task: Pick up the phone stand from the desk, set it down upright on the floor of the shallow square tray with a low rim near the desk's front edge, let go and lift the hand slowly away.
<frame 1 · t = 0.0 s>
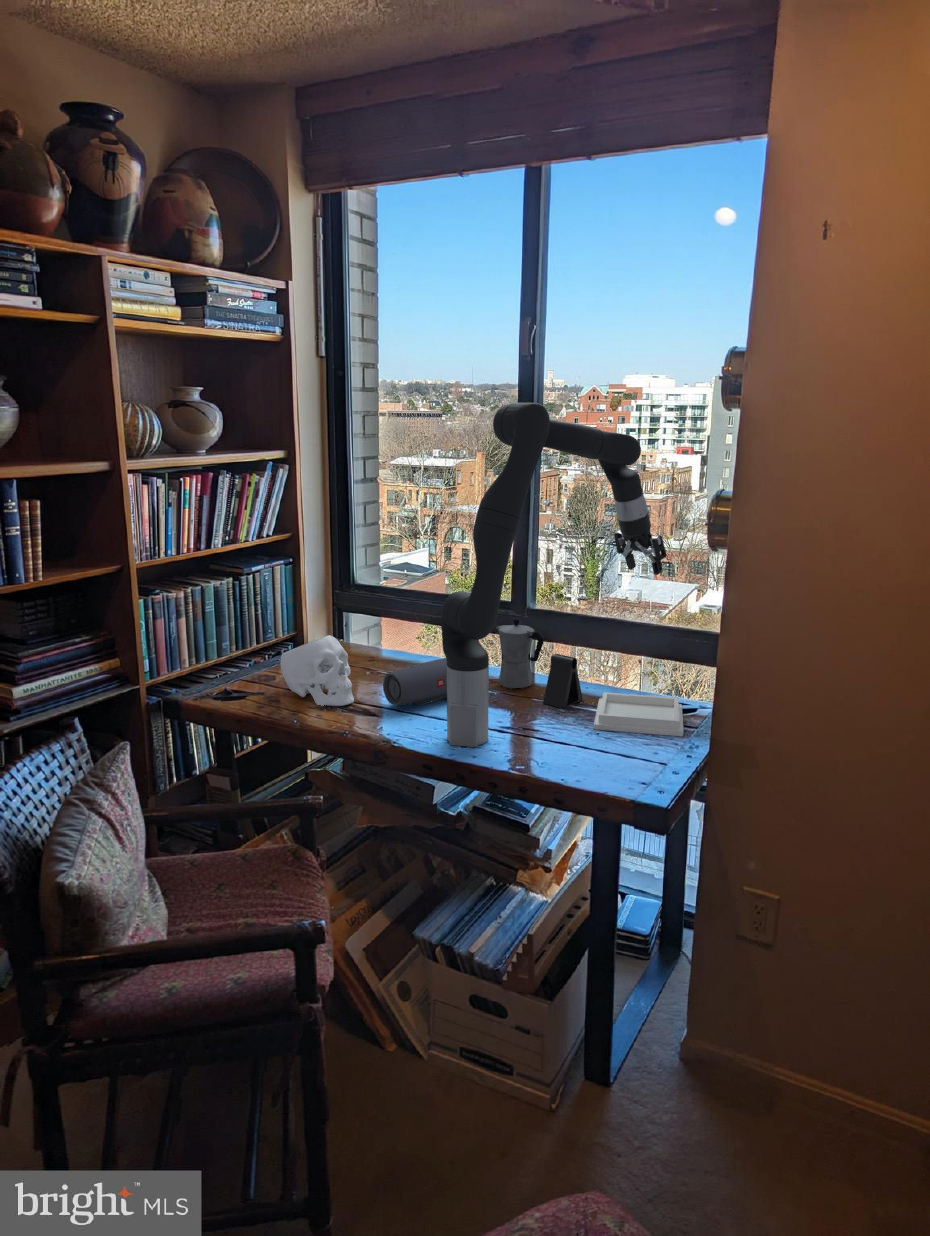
hand: (645, 570, 214), 31 cm above the table, tool tilted 20°, fingers open, 8 cm apart
shallow square tray: (638, 718, 200), on the table
skull planter: (320, 697, 215), on the table
bluetooth speaker: (429, 700, 213), on the table
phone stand: (562, 702, 212), on the table
coffeepot: (518, 685, 225), on the table
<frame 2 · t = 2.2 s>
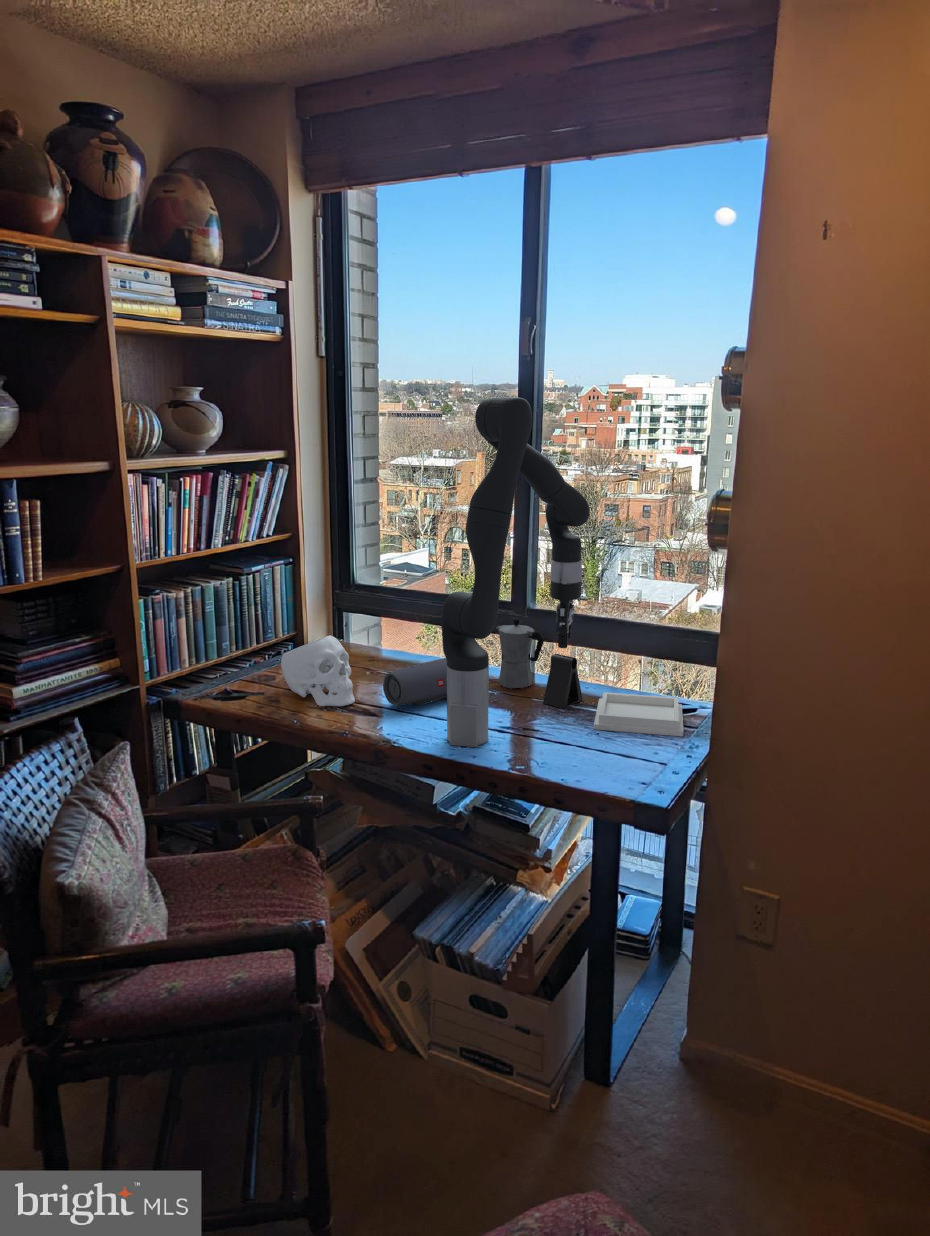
hand: (564, 642, 208), 15 cm above the table, tool pointing down, fingers open, 8 cm apart
nothing on the table moved.
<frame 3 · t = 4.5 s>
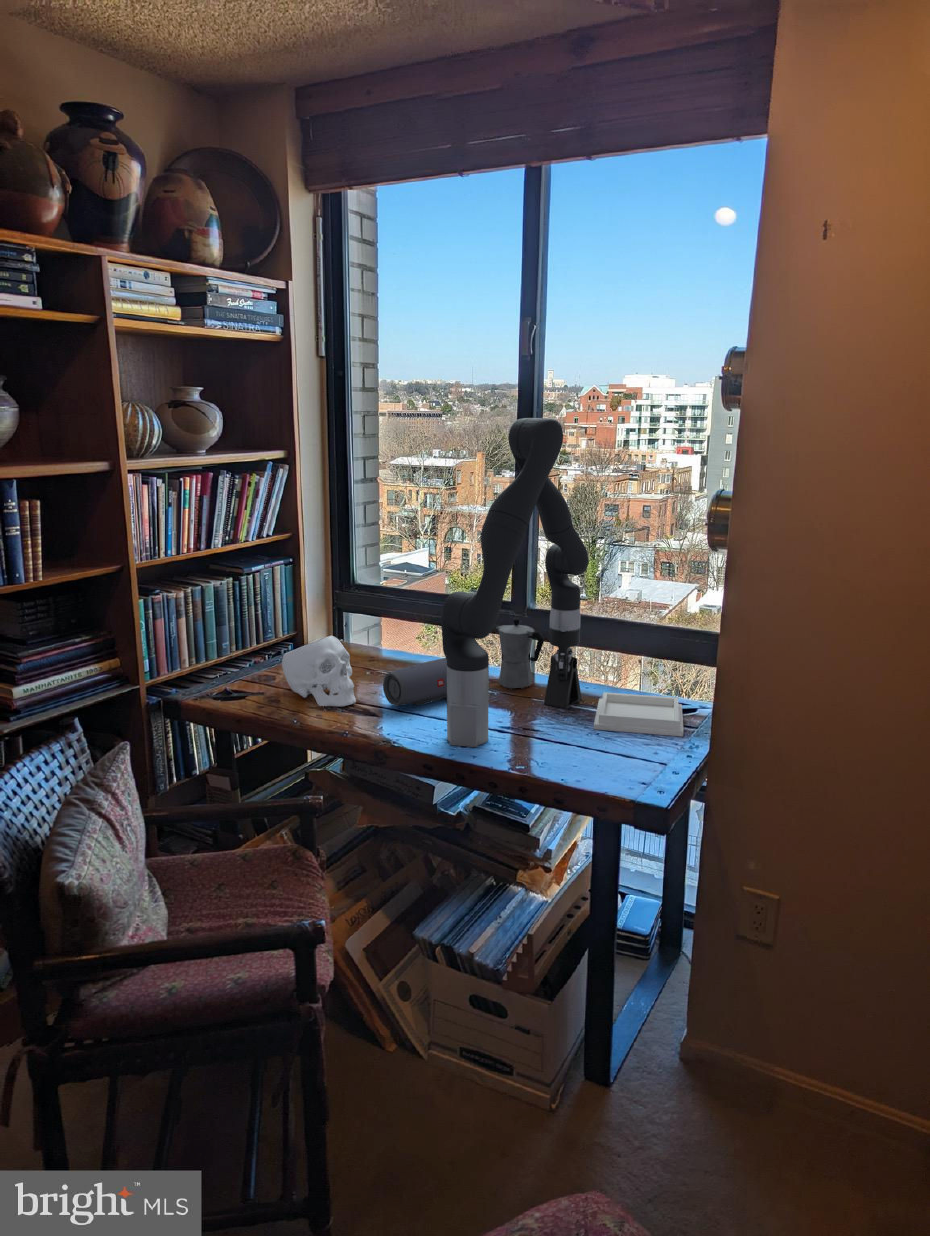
hand: (563, 691, 211), 3 cm above the table, tool pointing down, fingers closed on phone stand, 2 cm apart
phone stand: (562, 702, 212), on the table, touching gripper
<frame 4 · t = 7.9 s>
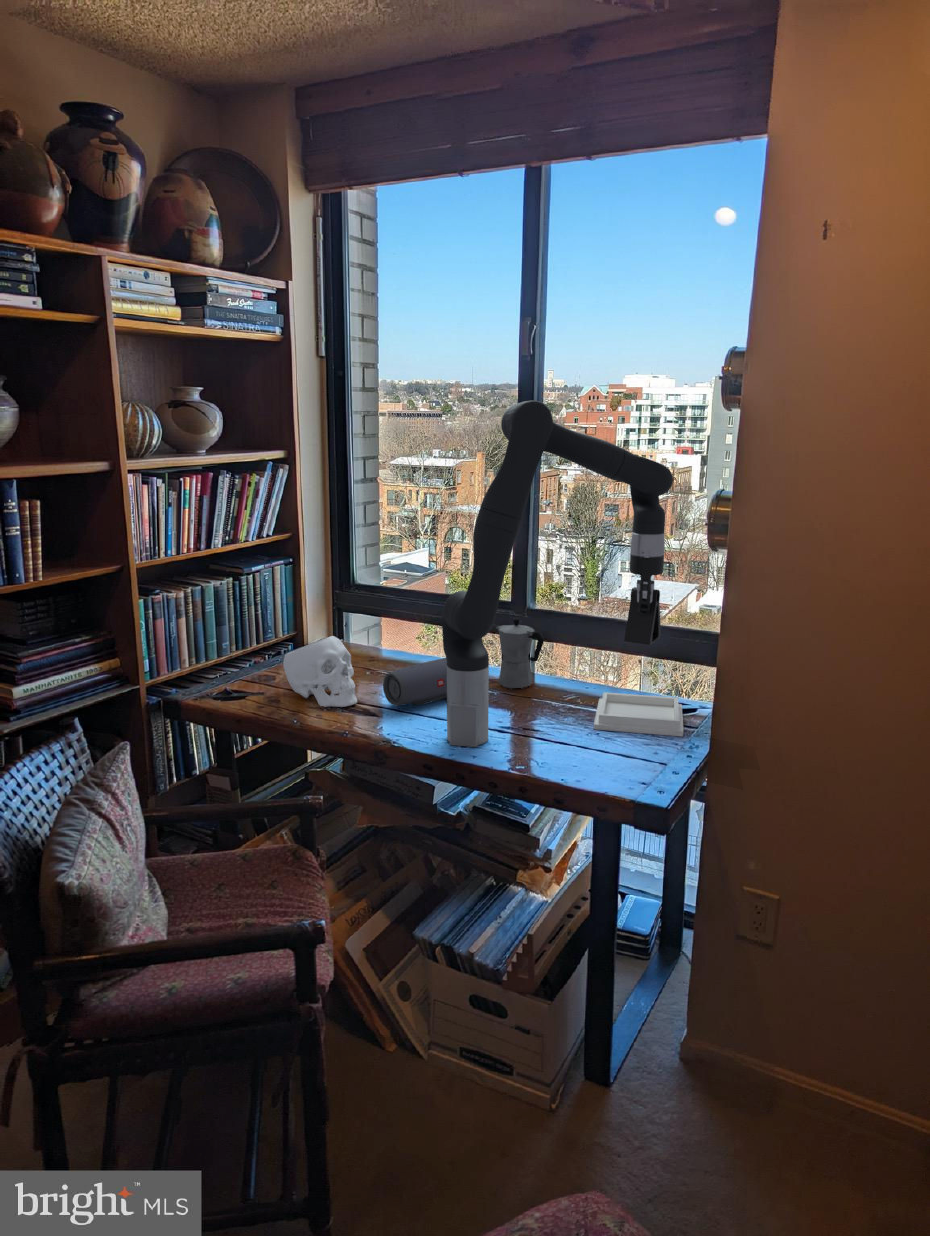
hand: (643, 626, 194), 23 cm above the table, tool pointing down, fingers closed on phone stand, 2 cm apart
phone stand: (642, 640, 195), point 19 cm above the table, touching gripper
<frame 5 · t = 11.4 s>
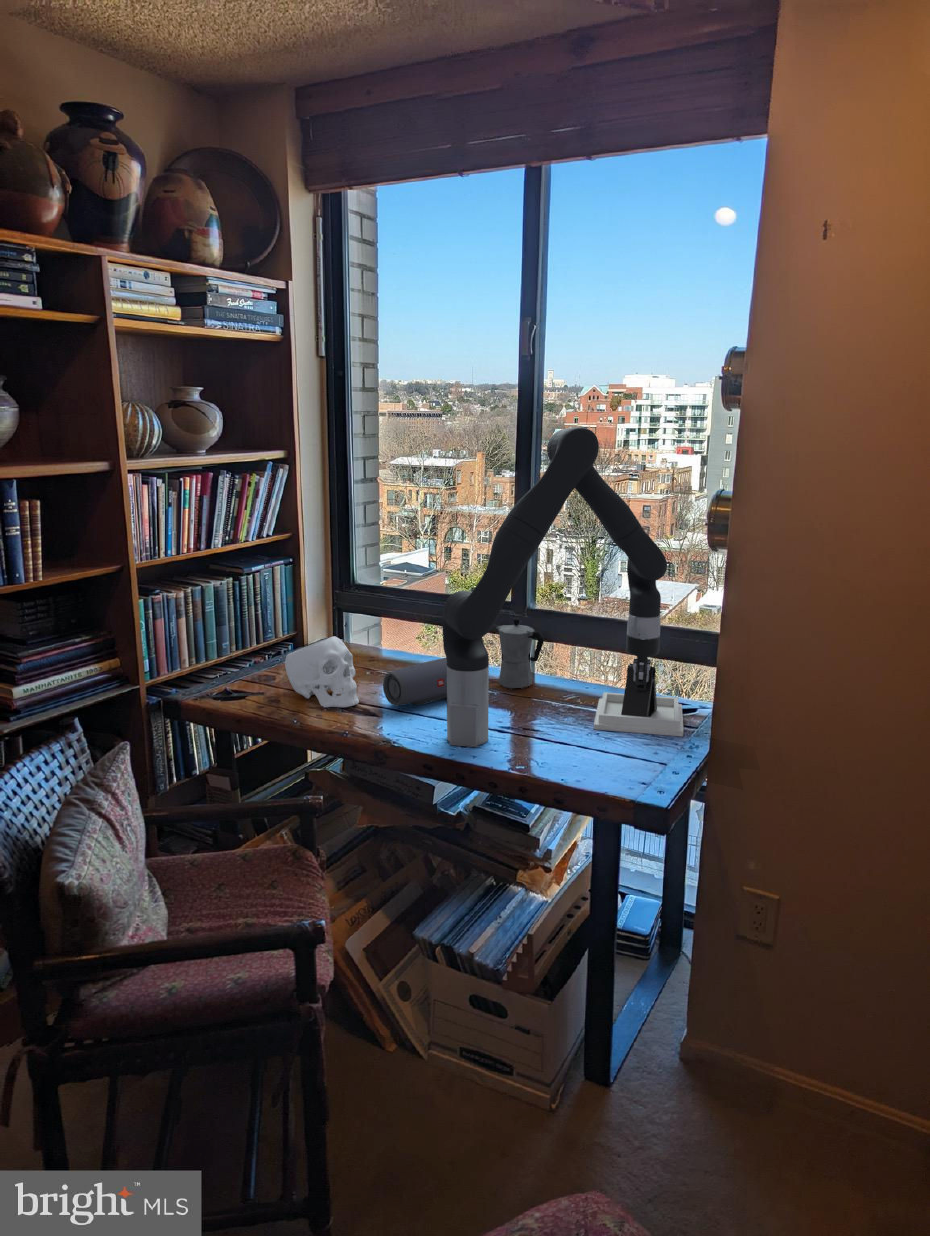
hand: (639, 703, 199), 4 cm above the table, tool pointing down
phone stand: (639, 714, 200), point 1 cm above the table, touching shallow square tray, gripper
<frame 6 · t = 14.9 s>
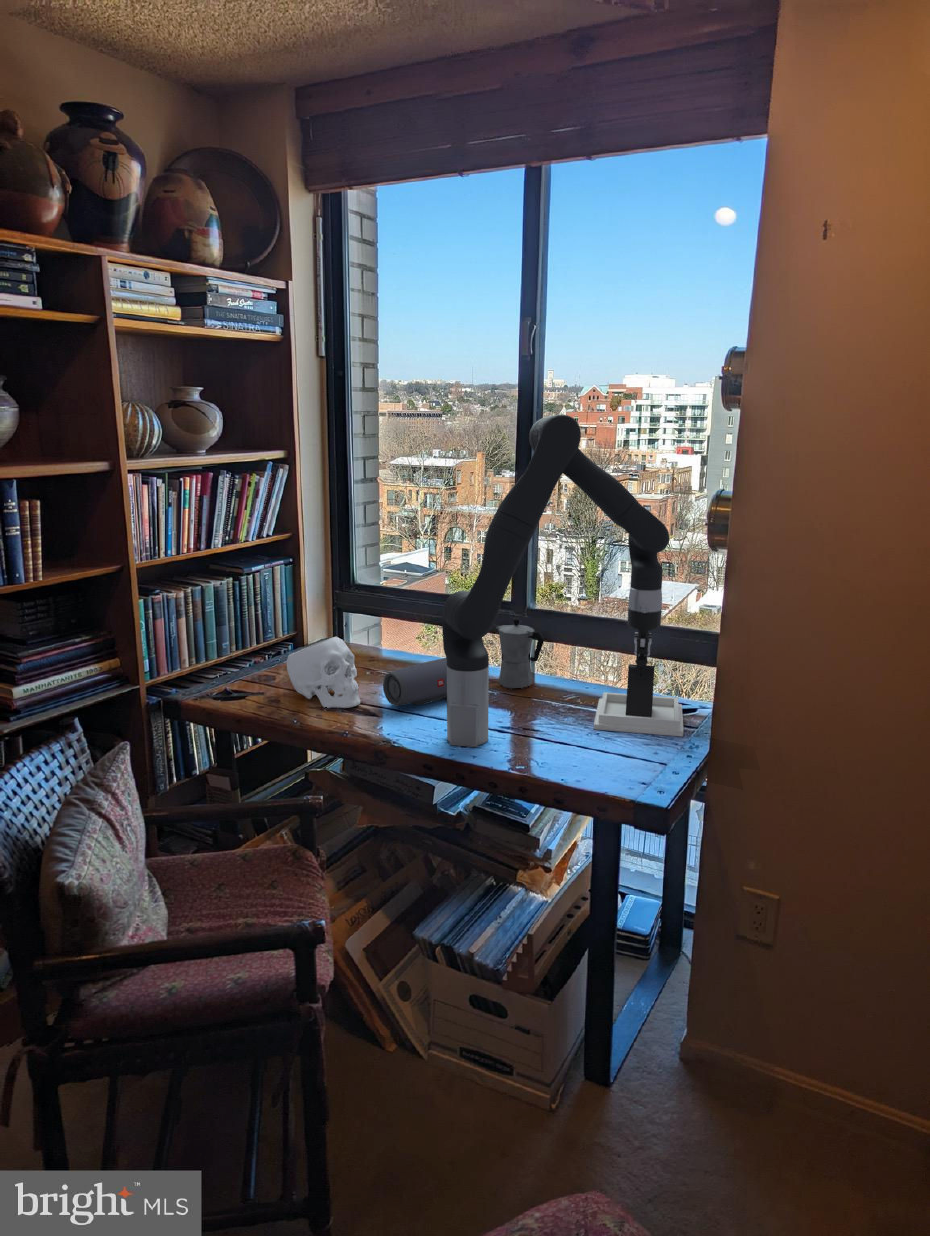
hand: (641, 674, 197), 11 cm above the table, tool pointing down, fingers open, 8 cm apart
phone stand: (638, 714, 200), point 1 cm above the table, touching shallow square tray
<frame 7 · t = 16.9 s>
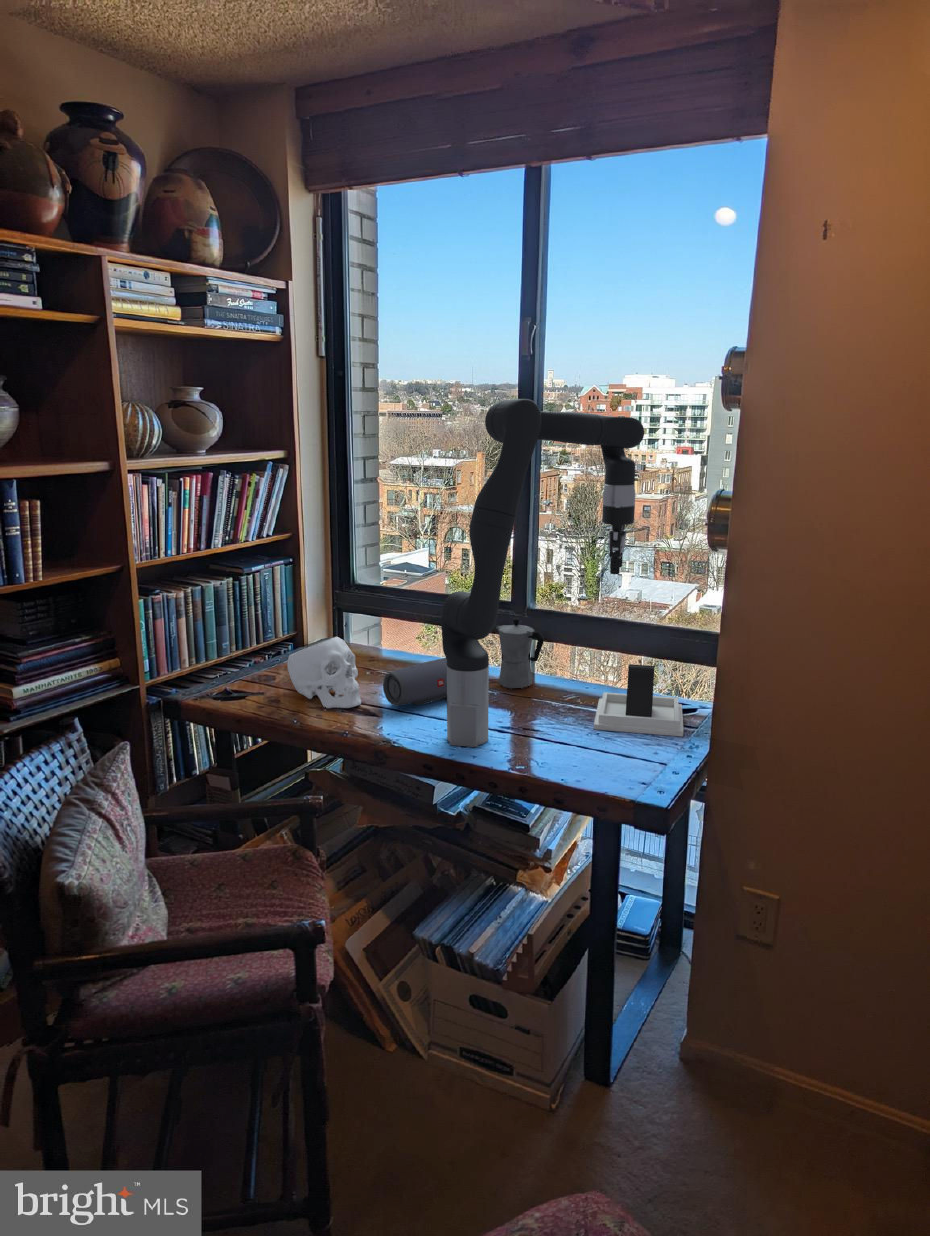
hand: (616, 570, 204), 33 cm above the table, tool pointing down, fingers open, 8 cm apart
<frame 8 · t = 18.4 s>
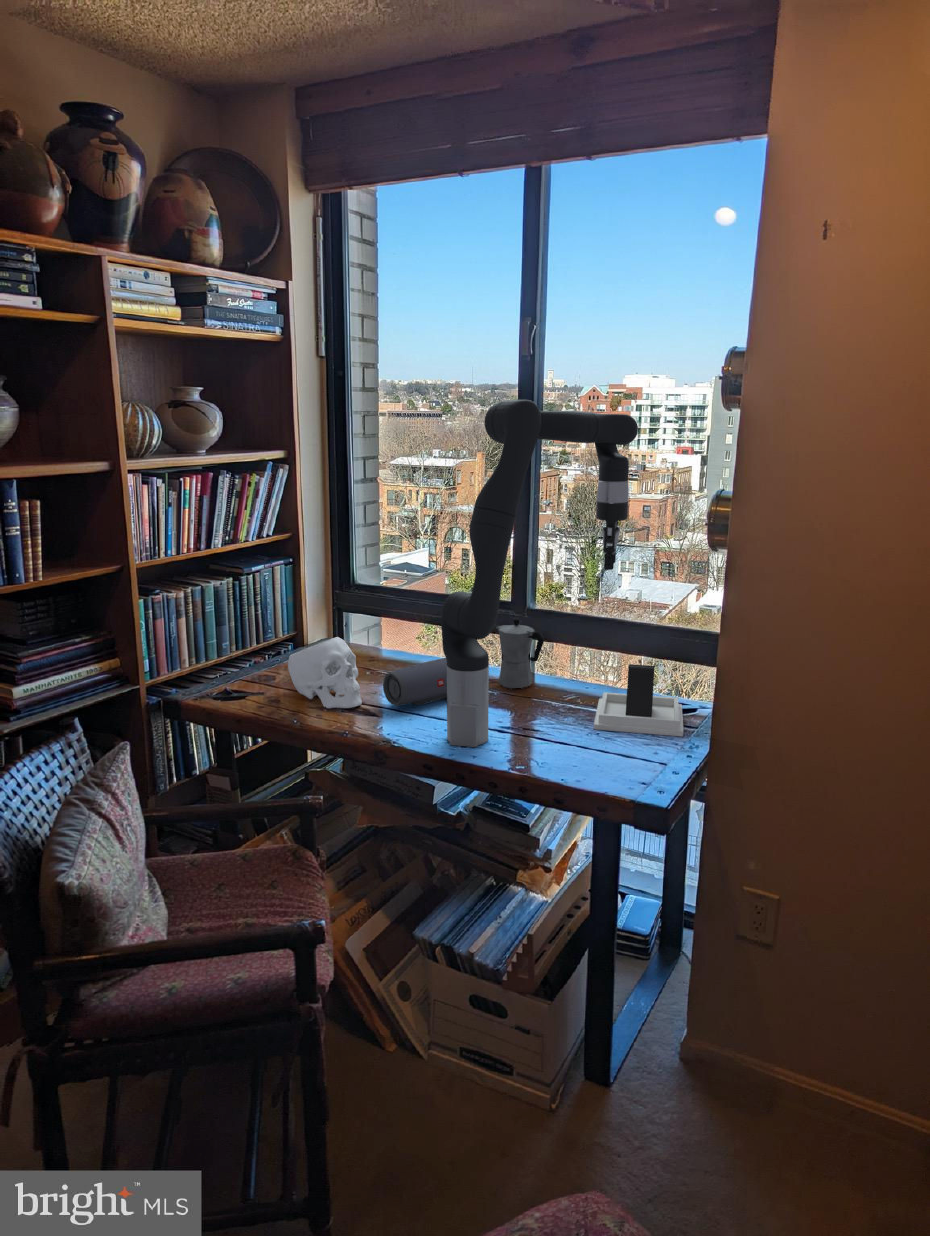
hand: (609, 566, 206), 34 cm above the table, tool pointing down, fingers open, 8 cm apart
at the end: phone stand inside the target area on the shallow square tray (0.1 cm from its centre), point 1.0 cm above the shallow square tray's base; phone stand tilted 0°; the gripper is holding nothing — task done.
